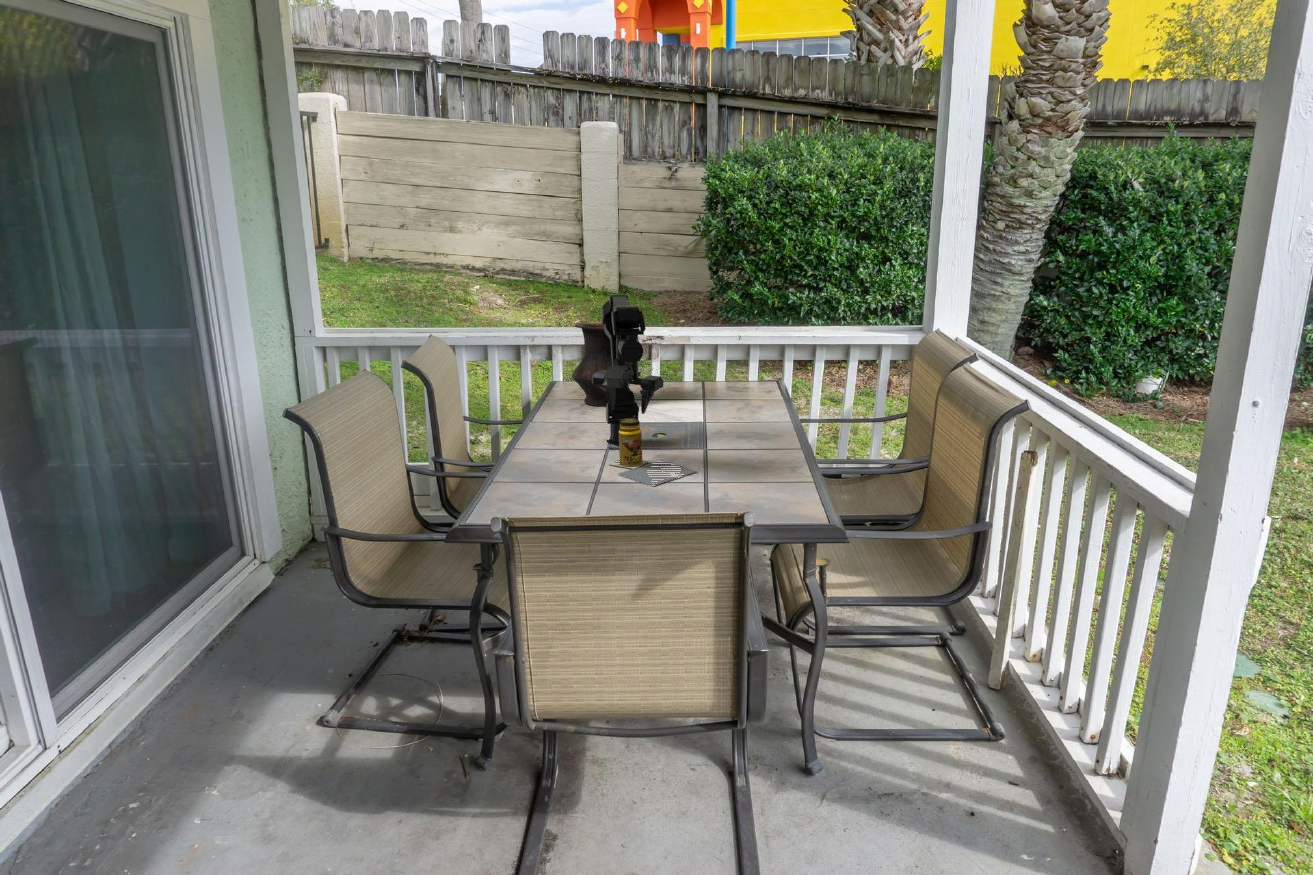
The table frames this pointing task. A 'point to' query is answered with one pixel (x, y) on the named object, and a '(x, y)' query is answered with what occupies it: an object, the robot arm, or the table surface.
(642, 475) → the mat
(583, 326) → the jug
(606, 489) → the table surface
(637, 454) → the condiment
